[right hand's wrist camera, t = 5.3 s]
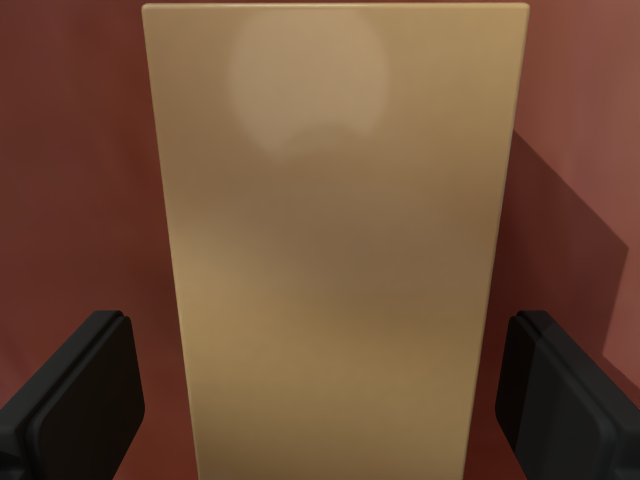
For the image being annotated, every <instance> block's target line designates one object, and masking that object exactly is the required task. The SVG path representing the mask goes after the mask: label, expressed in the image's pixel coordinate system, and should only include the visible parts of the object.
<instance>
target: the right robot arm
mask: <svg viewBox="0 0 640 480" xmlns="http://www.w3.org/2000/svg"><path fill="white" fill-rule="evenodd" d="M144 412H145V404H144V398H143V391H142V385H141V379H140V373H139V367H138V361H137V355H136V349H135V343H134V337H133V330H132V324H131V320H130V318H129V317H128V316H124V315H123V313H122V312H121V311H95V312H93V313H92V314H91V315H90V316H89V317H88V318H87V319H86V321H85V322H84V323H83V324H82V325H81V326H80V327H79V328H78V329H77V330H76V331H75V332H74V333H73V334H72V335H71V336H70V337H69V338H68V339H67V340H66V342H65V343H64V344H63V345H62V346H61V347H60V348H59V349H58V350H57V351H56V352H55V353H54V354H53V355H52V356H51V357H50V358H49V359H48V360H47V362H46V363H45V364H44V365H43V366H42V367H41V368H40V369H39V370H38V371H37V372H36V373H35V374H34V375H33V376H32V377H31V378H30V379H29V380H28V381H27V383H26V384H25V385H24V386H23V387H22V388H21V389H20V390H19V391H18V392H17V393H16V394H15V395H14V396H13V397H12V398H11V399H10V400H9V401H8V403H7V404H6V405H5V406H4V407H3V408H2V409H1V410H0V480H112V479H113V477H114V475H115V473H116V472H117V470H118V468H119V466H120V464H121V462H122V460H123V458H124V456H125V454H126V452H127V450H128V448H129V446H130V444H131V442H132V440H133V438H134V436H135V434H136V432H137V430H138V429H139V427H140V425H141V423H142V420H143V417H144ZM495 412H496V417H497V420H498V423H499V425H500V427H501V429H502V430H503V432H504V434H505V436H506V438H507V440H508V442H509V444H510V446H511V448H512V450H513V452H514V454H515V456H516V458H517V460H518V462H519V464H520V466H521V468H522V470H523V472H524V473H525V475H526V477H527V479H528V480H640V410H639V409H638V408H637V407H636V406H635V405H634V404H633V403H632V401H631V400H630V399H629V398H628V397H627V396H626V395H625V394H624V393H623V392H622V391H621V390H620V389H619V388H618V387H617V386H616V385H615V384H614V383H613V381H612V380H611V379H610V378H609V377H608V376H607V375H606V374H605V373H604V372H603V371H602V370H601V369H600V368H599V367H598V366H597V365H596V364H595V363H594V362H593V360H592V359H591V358H590V357H589V356H588V355H587V354H586V353H585V352H584V351H583V350H582V349H581V348H580V347H579V346H578V345H577V344H576V343H575V342H574V340H573V339H572V338H571V337H570V336H569V335H568V334H567V333H566V332H565V331H564V330H563V329H562V328H561V327H560V326H559V325H558V324H557V323H556V322H555V321H554V319H553V318H552V317H551V316H550V315H549V314H548V313H547V312H545V311H519V312H518V313H517V315H516V316H512V317H511V318H510V320H509V324H508V330H507V337H506V343H505V349H504V355H503V361H502V367H501V373H500V379H499V385H498V391H497V398H496V404H495Z"/></svg>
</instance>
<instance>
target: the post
mask: <svg viewBox="0 0 640 480" xmlns="http://www.w3.org/2000/svg"><path fill="white" fill-rule="evenodd" d="M529 15H530V5H528V4H526V3H147V4H145V5H143V6H142V19H143V27H144V36H145V44H146V52H147V60H148V68H149V77H150V85H151V93H152V101H153V109H154V118H155V126H156V134H157V142H158V150H159V159H160V167H161V175H162V183H163V191H164V200H165V208H166V216H167V224H168V232H169V241H170V249H171V257H172V265H173V273H174V282H175V290H176V298H177V306H178V314H179V323H180V331H181V339H182V347H183V355H184V364H185V372H186V380H187V388H188V396H189V405H190V413H191V421H192V429H193V437H194V446H195V454H196V462H197V470H198V478H199V480H463V475H464V468H465V461H466V454H467V447H468V440H469V433H470V426H471V419H472V412H473V405H474V398H475V391H476V384H477V377H478V370H479V363H480V357H481V350H482V343H483V336H484V329H485V322H486V315H487V308H488V301H489V294H490V287H491V280H492V273H493V266H494V259H495V252H496V245H497V238H498V231H499V224H500V217H501V210H502V203H503V196H504V189H505V182H506V175H507V168H508V161H509V154H510V147H511V140H512V134H513V127H514V120H515V113H516V106H517V99H518V92H519V85H520V78H521V71H522V64H523V57H524V50H525V43H526V36H527V29H528V22H529Z"/></svg>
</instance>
